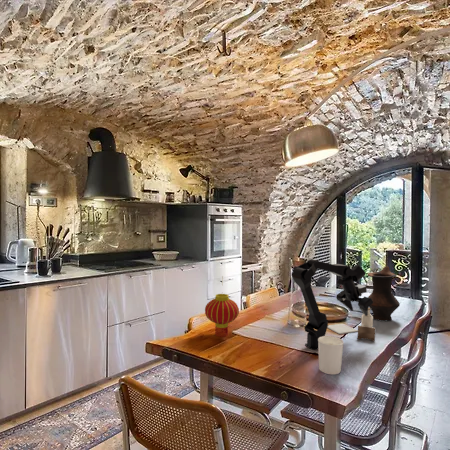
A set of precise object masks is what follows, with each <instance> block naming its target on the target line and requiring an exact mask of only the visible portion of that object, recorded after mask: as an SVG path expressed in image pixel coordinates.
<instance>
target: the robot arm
mask: <svg viewBox="0 0 450 450" xmlns="http://www.w3.org/2000/svg"><path fill="white" fill-rule="evenodd" d="M317 270H320V271H324V272H329V273H331V274H333V275H335V276H338V277H341V278H338V280H337V281H336V284H338V285H341V286H342V289H343V290H341V291H340V292H338V294H336V300H337V301H339V303H341V304H342V305H343V306H345V308H347V309H348V310H350V311H351V312H352V311H354V307H353V305H352V303H353V302H356V303H357V305H358V308H359V310H360V311H361V312H362V314H363V313H364V315H365V316H367V315H368V308H370V307H369V306H370V305H371V304H372V303H373V300H372V299H371V298H368V297H369V296H363V294H366V293H368V291H367V290H368V289H367V286H366V285H365V284H364V285H363V284H359V283H357V282H359V281H360V280H362V279H363V278H364V277H365V276H366V270H364V269H363V268H362V267H361V266H360V264H355V265H354V266H353V267H352V268H351V266H350V265H345V264H341V263H334V264H333V263H332V264H331V263H328V262H323V261H320V260H317V259H308V260H307V261H306V262H304V263H302V264H300V265H297V267H295V268H293V270H292V272H291V278H292V279H293V281H294V283H295V284H296V285H297V286H298V288H299V289H300V291H301V294H302V296H303V297H302V298H303V299H304V303H305V305H306V308H307V311H308V317H307V319H308V320H307V321H308V322H307V323H306V325H305V326H304V328H303V329H304V332H306V333H307V335H306V336H307V338H306V343H304V345H305V346H306V347H308V348H309V349H310V350H312V351H315V350H318V338H319V337H322V336H326V333H327V330H328V328H327V327H328V325H329V320H328V318H327V314H326V313H324V312H321V311H320V309H319V305H318V302H317V299H316V297H315V294H314V291H313V288H312V281H313V279H312V277H314V276H315V275H316V272H317ZM362 296H363V297H362Z"/></svg>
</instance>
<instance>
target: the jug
mask: <svg viewBox="0 0 450 450" xmlns="http://www.w3.org/2000/svg"><path fill="white" fill-rule="evenodd" d="M367 276H368V277H370V278H371V280H372V292H371V294H369V296H367V297H368V298H371V299H372V300H373V303H372V304H371V305H370V306H369V307H368V308H371V309H370V311H372V314H371V315H372V316H373V320H376V321H384V322H388V321H391V320H393V317H392V314H393V313H394V312H395V311H396V310H398V308H399V307H400V302H399V300H398V299H397V298H396V297H395V295H394V294H393V292H392V281H393V278H396V277H398V276H397V274H395V273H393V272H391V270H390V267H389V266H383V268H382V269H381V270H380V271H372V272H371V271H370V272H368V273H367Z"/></svg>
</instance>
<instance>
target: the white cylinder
mask: <svg viewBox="0 0 450 450" xmlns="http://www.w3.org/2000/svg"><path fill="white" fill-rule="evenodd" d="M344 344H345V343H344V340H343V339H341V338H339V337H336V336H330V335H325V336H322V337H319V338H318V349H317V350H318V369H319V371H320V372H322V373H324V374H328V375H338V374H339V373H341V371H342V362H343V361H342V360H343V351H344Z"/></svg>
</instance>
